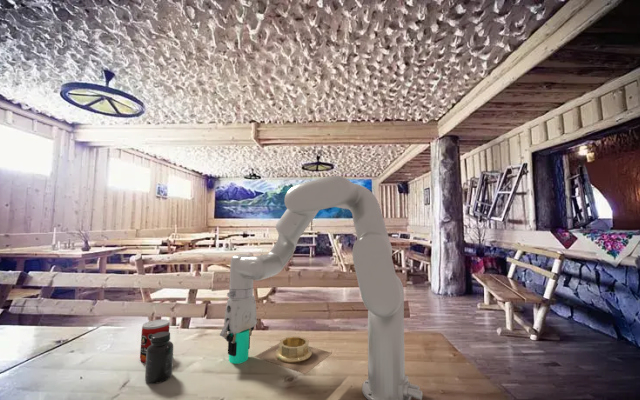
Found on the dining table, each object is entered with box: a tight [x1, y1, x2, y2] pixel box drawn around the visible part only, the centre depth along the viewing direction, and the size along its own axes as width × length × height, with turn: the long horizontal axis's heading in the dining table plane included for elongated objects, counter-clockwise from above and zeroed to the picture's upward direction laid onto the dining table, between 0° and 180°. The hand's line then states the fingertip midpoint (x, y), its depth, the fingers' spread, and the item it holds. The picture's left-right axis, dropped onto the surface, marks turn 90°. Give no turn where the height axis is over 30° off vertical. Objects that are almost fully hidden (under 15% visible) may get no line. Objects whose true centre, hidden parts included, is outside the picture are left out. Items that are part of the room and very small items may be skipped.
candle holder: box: [276, 335, 312, 363], centre depth 91 cm, size 12×12×4 cm
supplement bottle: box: [144, 331, 174, 385], centre depth 80 cm, size 7×7×12 cm
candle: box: [228, 329, 250, 365], centre depth 88 cm, size 6×6×12 cm
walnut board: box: [254, 343, 332, 375], centre depth 91 cm, size 20×16×2 cm
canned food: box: [139, 318, 171, 363], centre depth 92 cm, size 8×8×11 cm
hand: (238, 351), depth 88 cm, fingers closed on candle, 4 cm apart
